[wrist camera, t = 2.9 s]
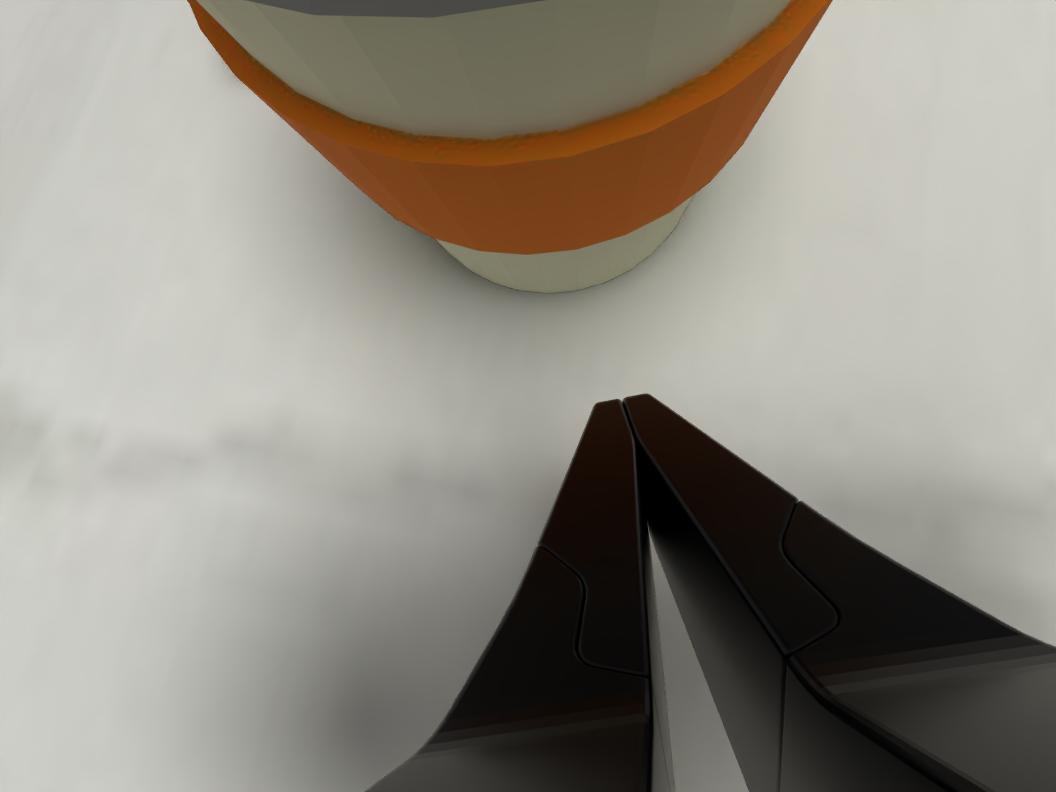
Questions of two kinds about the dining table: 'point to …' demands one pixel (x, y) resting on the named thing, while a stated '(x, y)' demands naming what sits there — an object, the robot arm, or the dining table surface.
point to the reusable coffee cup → (520, 113)
